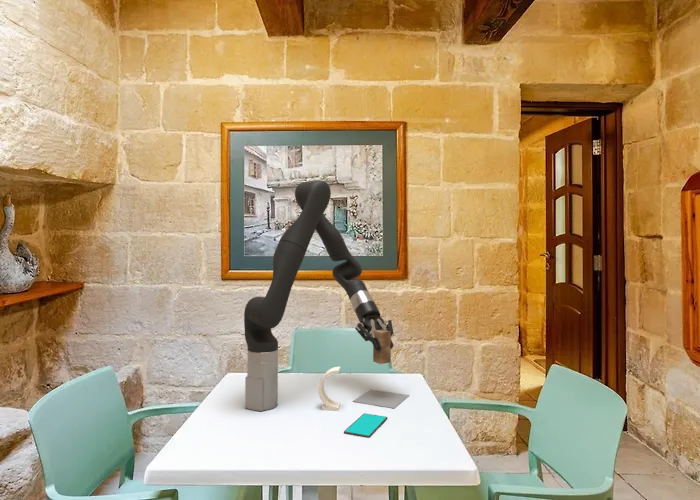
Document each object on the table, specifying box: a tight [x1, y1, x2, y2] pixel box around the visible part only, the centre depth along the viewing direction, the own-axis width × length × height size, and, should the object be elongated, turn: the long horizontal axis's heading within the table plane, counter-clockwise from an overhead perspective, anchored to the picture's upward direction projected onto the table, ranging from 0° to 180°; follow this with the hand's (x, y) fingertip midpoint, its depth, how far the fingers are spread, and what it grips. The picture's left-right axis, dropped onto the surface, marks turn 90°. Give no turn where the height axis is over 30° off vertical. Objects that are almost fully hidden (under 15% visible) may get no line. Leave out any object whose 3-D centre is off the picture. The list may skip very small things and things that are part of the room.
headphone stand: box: [318, 366, 341, 411], centre depth 140 cm, size 5×6×12 cm
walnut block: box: [372, 330, 392, 365], centre depth 149 cm, size 4×4×10 cm
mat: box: [352, 388, 410, 409], centre depth 149 cm, size 14×14×1 cm
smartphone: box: [343, 412, 388, 439], centre depth 126 cm, size 7×1×15 cm
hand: (385, 348), depth 147 cm, fingers closed on walnut block, 4 cm apart
